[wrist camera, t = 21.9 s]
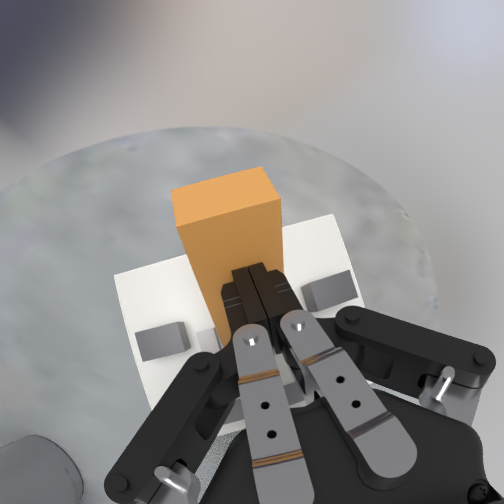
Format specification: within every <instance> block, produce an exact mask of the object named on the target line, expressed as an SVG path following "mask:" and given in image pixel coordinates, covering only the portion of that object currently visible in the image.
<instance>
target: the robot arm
mask: <svg viewBox="0 0 504 504" xmlns="http://www.w3.org/2000/svg"><path fill="white" fill-rule="evenodd" d="M247 268H248V269H247ZM231 272H232V276H233V280H234V281H233V282H230V283H226V284H223V286H222V290H221V297H222V300H223V304H224V308H225V312H226V316H227V319H228V323H229V327H230V331H231V338H230V341H229V342H228V344H227V345H226V346H225V347H224V348H223V349H221V350H220V351H218V352H216V353H215V354H213V353H211V352H198V353H196V354H194V355H192V356H191V357H189V358H188V360H187V361H186V362H185V364H184V365H183V367H182V368H181V369H180V371H179V372H178V374H177V375H176V377H175V378H174V380H173V381H172V383H171V384H170V385H169V387H168V388H167V390H166V391H165V393H164V394H163V396H162V397H161V398H160V400H159V401H158V403H157V404H156V406H155V407H154V409H153V410H152V411H151V413H150V414H149V416H148V417H147V419H146V420H145V422H144V423H143V424H142V426H141V427H140V429H139V430H138V432H137V433H136V435H135V436H134V437H133V439H132V440H131V442H130V443H129V445H128V446H127V447H126V449H125V450H124V452H123V453H122V455H121V456H120V457H119V459H118V460H117V462H116V463H115V465H114V466H113V467H112V469H111V470H110V472H109V473H108V475H107V476H106V478H105V481H104V489H105V492H106V494H107V496H108V497H109V498H110V499H111V500H112V501H114V502H116V503H118V504H198V503H197V499H198V495H199V493H200V489H201V485H200V481H199V479H198V477H197V476H196V475H195V472H196V471H197V469H198V467H199V466H200V464H201V462H202V461H203V459H204V457H205V456H206V454H207V452H208V450H209V449H210V447H211V445H212V444H213V442H214V440H215V438H216V437H217V435H218V433H219V431H220V430H221V428H222V426H223V424H224V422H225V421H226V419H227V417H228V415H229V414H230V412H231V410H232V408H233V406H234V404H235V399H237V398H238V397H241V403H242V408H243V414H244V419H245V425H246V428H245V429H243V430H242V431H241V432H240V433H239V434H238V435H237V436H236V437H235V438H234V439H233V441H232V442H231V443H230V445H229V447H228V449H227V451H226V453H225V455H224V457H223V459H222V461H221V463H220V465H219V467H218V469H217V470H216V472H215V474H214V476H213V478H212V480H211V482H210V484H209V486H208V488H207V489H206V491H205V493H204V495H203V497H202V499H201V501H200V502H199V504H504V498H503V497H502V496H501V495H500V494H499V493H498V492H497V491H496V490H495V489H494V488H493V487H492V486H491V485H490V484H489V482H488V480H487V478H486V475H485V471H484V465H483V449H482V448H483V447H482V442H481V440H480V437H479V436H478V434H477V432H476V431H475V430H474V429H473V428H472V427H471V425H472V422H473V419H474V416H475V412H476V409H477V405H478V402H479V397H480V394H481V390H482V388H483V387H484V385H485V384H486V382H487V380H488V378H489V376H490V375H491V373H492V372H493V370H494V368H495V365H496V359H495V356H494V354H493V353H492V352H491V351H490V350H489V349H488V348H486V347H484V346H481V345H478V344H474V343H471V342H468V341H465V340H462V339H458V338H455V337H452V336H448V335H446V334H443V333H439V332H436V331H433V330H430V329H427V328H424V327H421V326H418V325H415V324H411V323H408V322H405V321H402V320H399V319H396V318H393V317H390V316H387V315H384V314H381V313H378V312H375V311H372V310H369V309H366V308H363V307H360V306H354V305H351V306H345V307H343V308H341V309H340V310H339V311H338V312H337V313H336V316H335V317H333V318H316V317H314V316H313V315H312V314H311V313H310V312H308V311H305V310H304V309H303V307H302V306H301V304H300V302H299V300H298V298H297V296H296V295H295V293H294V291H293V289H292V287H291V286H290V284H289V282H288V280H287V278H286V276H285V275H284V274H283V273H282V272H280V271H279V270H277V269H275V270H272V271H268V272H267V270H266V268H265V266H264V264H263V262H260V263H256V264H253V265H249V266H247V267H242V268H239V269H235V270H232V271H231ZM273 348H274V349H273ZM274 350H275V353H276V355H277V354H281V353H282V355H283V357H284V360H285V362H286V363H287V367H288V369H289V371H290V373H291V375H292V377H293V379H294V381H295V383H296V385H297V387H298V388H299V390H300V392H301V394H302V396H303V398H304V400H305V402H306V406H304V407H296V408H289V404H288V400H287V397H286V393H285V390H284V386H283V383H282V379H281V376H280V372H279V371H278V368H277V364H276V361H275V357H274V355H275V354H274ZM366 380H368V381H371V382H373V383H376V384H378V385H381V386H384V387H386V388H389V389H392V390H394V391H397V392H400V393H402V394H405V395H408V396H411V397H414V398H417V399H419V403H420V405H421V406H419V405H416V404H414V403H411V402H409V401H406V400H404V399H401V398H399V397H397V396H394V395H392V394H389V393H387V392H385V391H382V390H378V389H373V388H371V387H370V385H369V384H368V382H367V381H366ZM82 493H83V484H82V479H81V476H80V474H79V472H78V470H77V468H76V466H75V465H74V463H73V462H72V460H71V459H70V458H69V457H68V455H67V454H66V453H65V452H64V451H63V450H62V449H60V448H59V447H58V446H57V445H55V444H54V443H52V442H51V441H49V440H47V439H45V438H42V437H39V436H27V437H25V438H23V439H21V440H18V441H16V442H12V443H10V444H8V445H6V446H4V447H1V448H0V504H76V503H77V502H78V501H79V499H80V498H81V496H82Z"/></svg>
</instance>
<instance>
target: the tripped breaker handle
mask: <svg viewBox="0 0 504 504" xmlns="http://www.w3.org/2000/svg"><path fill="white" fill-rule="evenodd" d="M171 195H172V202H173V208H174V215H175V221H176V227H177V230H178V233H179V235H180V238H181V241H182V243H183V246H184V249H185V251H186V254H187V257H188V259H189V262H190V265H191V267H192V270H193V272H194V275H195V278H196V280H197V283H198V285H199V288H200V290H201V293H202V295H203V298H204V300H205V303H206V305H207V308H208V310H209V313H210V315H211V318H212V320H213V323H214V325H215V327H216V330H217V332H218V335H219V337H220V339H221V342H222V344H223V346H224V347H225V346H226V345H227V344H228V342H229V341H230V338H231V331H230V327H229V323H228V319H227V316H226V312H225V308H224V304H223V300H222V297H221V290H222V286H223V284H226V283H230V282H233V281H234V280H233V276H232V272H231V271H232V270H235V269H239V268H242V267H247V266H249V265H253V264H256V263H260V262H263V264H264V266H265V268H266V270H267V272H268V271H272V270H275V269H277V270H279V271H280V272H282V273H283V274H284V261H283V237H282V216H281V198H280V197H279V195H278V193H277V192H276V190H275V188H274V187H273V185H272V183H271V182H270V180H269V178H268V176H267V175H266V173H265V171H264V170H263V168H262V167H257V168H252V169H248V170H244V171H240V172H236V173H232V174H228V175H224V176H221V177H217V178H213V179H209V180H206V181H202V182H198V183H195V184H191V185H187V186H184V187H180V188H177V189H174V190H171ZM247 269H248V268H247Z"/></svg>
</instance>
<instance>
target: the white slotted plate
mask: <svg viewBox="0 0 504 504" xmlns="http://www.w3.org/2000/svg"><path fill="white" fill-rule="evenodd" d="M282 237H283V261H284V275H285V276H286V278H287V280H288V282H289V284H290V286H291V287H292V289H293V291H294V293H295V295H296V296H297V298H298V300H299V302H300V304H301V306H302V307H303V309H304V310H305V311H308V312H310V313H311V314H312V315H313V316H314V317H316V318H333V317H335V316H336V313H337V312H338V311H339V310H340V309H341V308H343V307H345V306H351V305H354V306H360V307H363V308H365V306H364V303H363V300H362V297H361V293H360V290H359V287H358V284H357V281H356V278H355V275H354V272H353V269H352V266H351V263H350V260H349V257H348V254H347V251H346V248H345V245H344V242H343V239H342V237H341V234H340V231H339V228H338V226H337V223H336V220H335V217H334V215H333V214H329V215H326V216H322V217H318V218H315V219H311V220H307V221H304V222H300V223H296V224H293V225H289V226H285V227H282ZM114 278H115V283H116V288H117V292H118V297H119V301H120V305H121V309H122V313H123V317H124V321H125V325H126V329H127V333H128V336H129V340H130V344H131V347H132V351H133V354H134V357H135V361H136V364H137V367H138V371H139V374H140V377H141V380H142V383H143V386H144V389H145V392H146V395H147V398H148V401H149V404H150V407H151V409H152V410H153V409H154V407H155V406H156V404H157V403H158V401H159V400H160V398H161V397H162V396H163V394H164V393H165V391H166V390H167V388H168V387H169V385H170V384H171V383H172V381H173V380H174V378H175V377H176V375H177V374H178V372H179V371H180V369H181V368H182V367H183V365H184V364H185V362H186V361H187V360H188V358H189V357H191V356H192V355H194V354H196V353H198V352H211V353H213V354H215V353H216V352H218V351H220V350H221V349H223V348H224V346H223V344H222V342H221V339H220V337H219V335H218V332H217V330H216V327H215V325H214V323H213V320H212V318H211V315H210V313H209V310H208V308H207V305H206V303H205V300H204V298H203V295H202V293H201V290H200V288H199V285H198V283H197V280H196V278H195V275H194V272H193V270H192V267H191V265H190V262H189V259H188V257H187V254H186V255H182V256H179V257H175V258H172V259H168V260H165V261H161V262H158V263H154V264H151V265H148V266H144V267H141V268H137V269H134V270H130V271H127V272H124V273H120V274H117V275H114ZM273 349H274V348H273ZM274 354H275V355H274V357H275V361H276V364H277V368H278V371H279V372H280V376H281V379H282V383H283V386H284V390H285V393H286V397H287V400H288V404H289V408H296V407H304V406H306V402H305V400H304V398H303V396H302V394H301V392H300V390H299V388H298V387H297V385H296V383H295V381H294V379H293V377H292V375H291V373H290V371H289V369H288V367H287V363H286V362H285V360H284V357H283V355H282V353H281V354H277V355H276V353H275V350H274ZM366 381H367V382H368V384H369V385H370V384H372V383H373V382H371V381H368V380H366ZM245 428H246V425H245V419H244V414H243V408H242V403H241V397H238V398H237V399H235V404H234V406H233V408H232V410H231V412H230V414H229V415H228V417H227V419H226V421H225V422H224V424H223V426H222V428H221V430H220V431H219V433H218V435H217V436H220V435H224V434H228V433H232V432H236V431H240V430H243V429H245Z"/></svg>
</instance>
